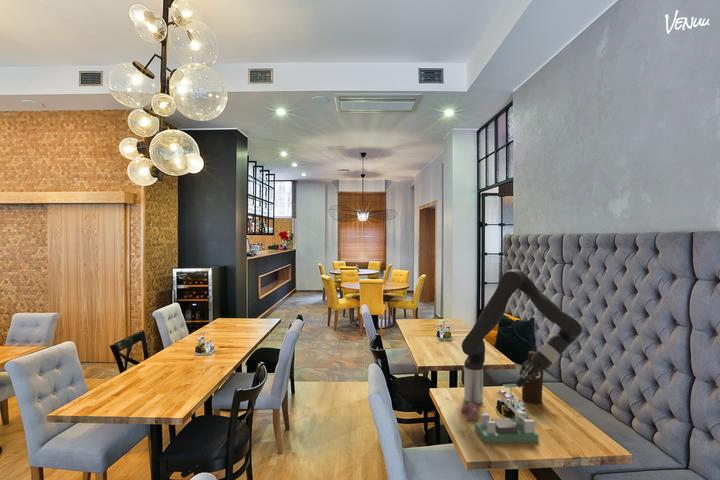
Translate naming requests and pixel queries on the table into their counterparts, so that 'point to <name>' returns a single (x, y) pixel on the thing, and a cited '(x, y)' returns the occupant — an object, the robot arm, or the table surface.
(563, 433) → the table surface
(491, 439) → the clip base
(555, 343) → the robot arm
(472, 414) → the pink rounded lump
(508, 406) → the retention strap
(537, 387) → the olive oil
